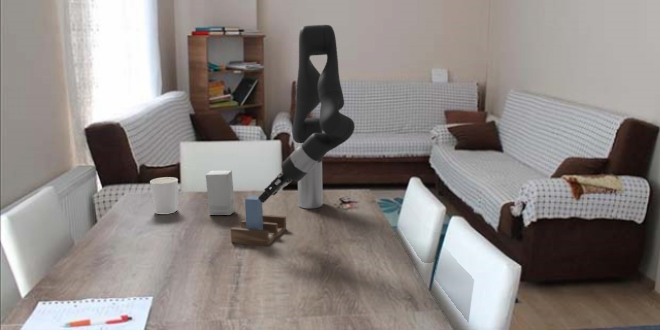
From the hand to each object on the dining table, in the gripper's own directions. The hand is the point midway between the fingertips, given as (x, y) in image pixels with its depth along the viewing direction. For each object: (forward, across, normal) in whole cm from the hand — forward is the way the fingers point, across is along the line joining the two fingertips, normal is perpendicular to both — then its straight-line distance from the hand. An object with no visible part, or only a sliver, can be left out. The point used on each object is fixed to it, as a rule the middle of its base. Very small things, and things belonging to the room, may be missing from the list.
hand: (266, 196), depth 182 cm
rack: (+13, -4, +7) cm, 15 cm away
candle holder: (+45, -19, -24) cm, 54 cm away
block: (+12, 0, +6) cm, 13 cm away
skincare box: (+30, -22, -9) cm, 38 cm away
